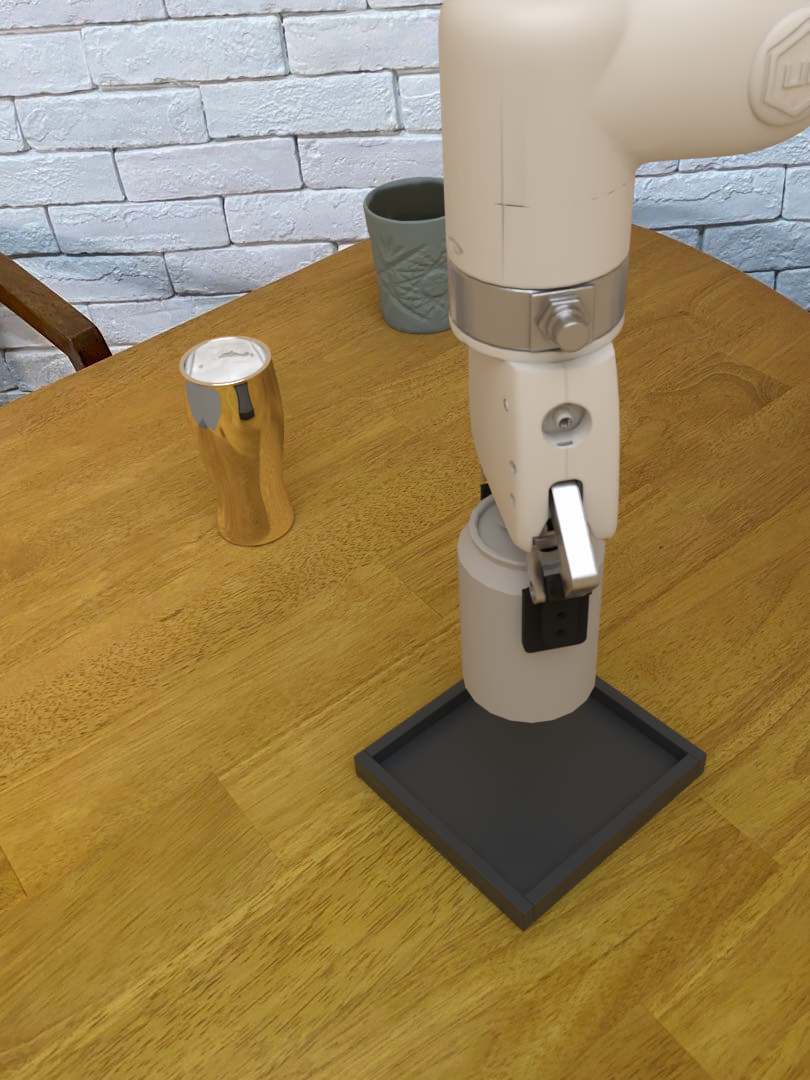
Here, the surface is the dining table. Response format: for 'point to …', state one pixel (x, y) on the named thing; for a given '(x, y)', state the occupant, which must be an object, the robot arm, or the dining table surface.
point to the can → (516, 626)
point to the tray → (529, 789)
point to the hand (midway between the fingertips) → (531, 587)
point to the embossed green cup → (410, 253)
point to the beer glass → (239, 435)
